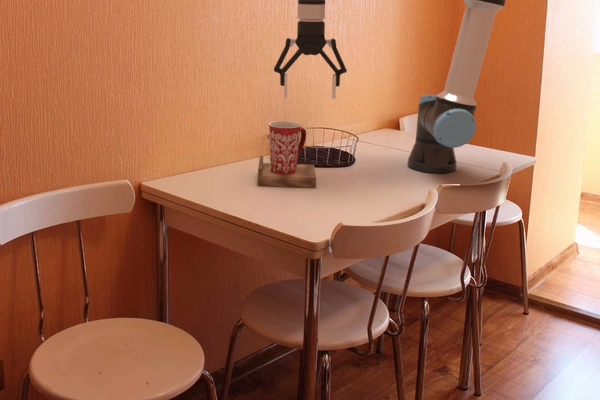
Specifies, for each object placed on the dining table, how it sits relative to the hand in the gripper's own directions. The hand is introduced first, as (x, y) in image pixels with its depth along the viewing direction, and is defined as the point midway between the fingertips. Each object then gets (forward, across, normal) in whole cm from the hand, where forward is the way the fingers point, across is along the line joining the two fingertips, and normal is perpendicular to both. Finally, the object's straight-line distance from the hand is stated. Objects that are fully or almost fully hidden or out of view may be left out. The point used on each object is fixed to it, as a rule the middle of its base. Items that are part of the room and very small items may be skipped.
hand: (309, 97), depth 198 cm
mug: (+20, +6, +4) cm, 21 cm away
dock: (+23, +6, +4) cm, 24 cm away
